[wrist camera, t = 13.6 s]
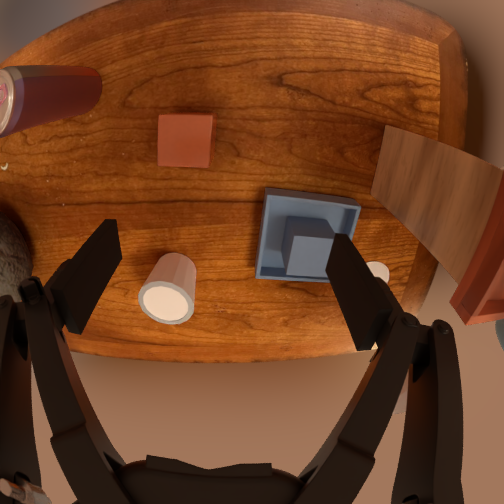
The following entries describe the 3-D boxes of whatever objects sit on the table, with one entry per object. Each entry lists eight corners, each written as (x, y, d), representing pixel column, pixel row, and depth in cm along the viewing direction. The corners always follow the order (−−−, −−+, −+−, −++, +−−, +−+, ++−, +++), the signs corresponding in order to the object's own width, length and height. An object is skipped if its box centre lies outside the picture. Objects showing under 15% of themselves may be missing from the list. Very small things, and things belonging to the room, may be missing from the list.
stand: (445, 139, 27) (574, 207, 8) (425, 212, 32) (525, 314, 14) (379, 114, 26) (534, 168, 7) (361, 199, 31) (465, 325, 13)
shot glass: (207, 259, 35) (201, 294, 29) (193, 295, 39) (185, 331, 33) (158, 241, 34) (142, 273, 28) (148, 280, 37) (134, 314, 31)
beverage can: (111, 96, 24) (22, 109, 11) (75, 123, 25) (-14, 155, 12) (95, 58, 21) (5, 51, 8) (59, 86, 22) (-30, 101, 9)
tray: (353, 198, 31) (361, 206, 29) (332, 272, 37) (337, 283, 35) (265, 187, 31) (267, 194, 28) (254, 267, 36) (255, 278, 34)
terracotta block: (217, 113, 26) (212, 115, 22) (214, 157, 28) (208, 168, 24) (171, 111, 25) (158, 114, 21) (170, 155, 28) (157, 166, 24)
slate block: (327, 219, 32) (339, 239, 28) (318, 254, 35) (327, 277, 31) (287, 215, 32) (294, 235, 28) (280, 251, 34) (285, 275, 30)
